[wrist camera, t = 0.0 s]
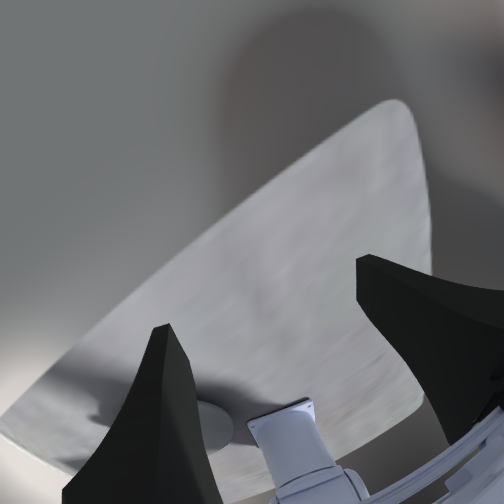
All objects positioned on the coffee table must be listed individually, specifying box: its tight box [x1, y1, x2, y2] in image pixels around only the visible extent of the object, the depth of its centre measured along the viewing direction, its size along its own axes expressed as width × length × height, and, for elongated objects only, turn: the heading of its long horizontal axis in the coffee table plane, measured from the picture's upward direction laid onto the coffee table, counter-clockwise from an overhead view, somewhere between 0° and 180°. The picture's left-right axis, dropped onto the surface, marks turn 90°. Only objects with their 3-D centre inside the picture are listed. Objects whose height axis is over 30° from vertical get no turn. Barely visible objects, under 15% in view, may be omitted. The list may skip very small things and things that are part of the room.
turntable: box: [197, 400, 235, 456], centre depth 26 cm, size 12×12×3 cm
